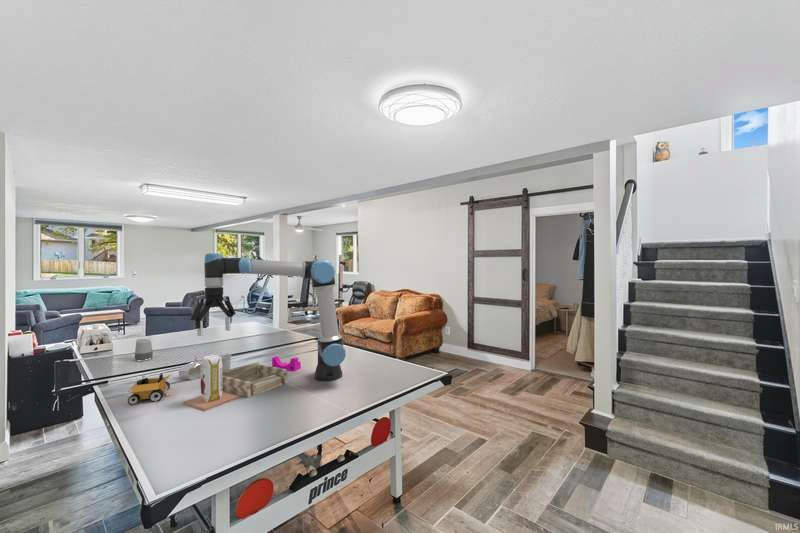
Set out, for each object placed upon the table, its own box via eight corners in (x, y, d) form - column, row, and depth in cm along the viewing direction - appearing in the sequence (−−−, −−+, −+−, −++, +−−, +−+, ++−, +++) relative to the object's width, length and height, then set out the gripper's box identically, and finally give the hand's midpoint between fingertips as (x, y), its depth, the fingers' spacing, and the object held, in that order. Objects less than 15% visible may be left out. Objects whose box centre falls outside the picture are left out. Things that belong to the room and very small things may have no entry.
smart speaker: (145, 362, 219) (145, 340, 220) (131, 362, 220) (131, 340, 220) (156, 358, 229) (156, 337, 229) (142, 358, 229) (142, 337, 229)
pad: (238, 398, 159) (238, 396, 159) (205, 411, 145) (204, 408, 145) (217, 392, 166) (217, 390, 166) (183, 403, 152) (183, 401, 152)
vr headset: (205, 373, 195) (202, 353, 196) (214, 373, 191) (211, 353, 191) (179, 381, 183) (176, 360, 183) (188, 381, 178) (185, 360, 179)
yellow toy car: (136, 394, 165) (136, 372, 165) (173, 390, 170) (173, 368, 170) (125, 406, 151) (125, 382, 151) (165, 401, 157) (165, 377, 157)
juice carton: (217, 394, 161) (217, 353, 161) (223, 399, 155) (223, 357, 155) (199, 398, 156) (199, 356, 156) (205, 403, 150) (205, 360, 150)
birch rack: (287, 382, 180) (286, 367, 180) (248, 397, 159) (248, 380, 159) (257, 376, 191) (256, 361, 191) (217, 389, 170) (217, 373, 170)
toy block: (300, 368, 205) (300, 356, 205) (295, 372, 199) (294, 359, 199) (278, 367, 208) (278, 355, 208) (272, 370, 202) (272, 357, 202)
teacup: (241, 368, 201) (238, 351, 200) (225, 377, 186) (223, 359, 186) (222, 370, 202) (219, 353, 202) (205, 379, 187) (202, 361, 187)
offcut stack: (282, 386, 176) (282, 376, 176) (254, 396, 162) (254, 385, 162) (273, 383, 180) (273, 374, 180) (245, 393, 166) (245, 383, 166)
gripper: (232, 285, 171) (233, 327, 171) (181, 288, 149) (181, 337, 149) (243, 285, 167) (243, 329, 167) (191, 288, 145) (192, 338, 145)
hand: (214, 333), depth 158 cm, fingers open, 13 cm apart
